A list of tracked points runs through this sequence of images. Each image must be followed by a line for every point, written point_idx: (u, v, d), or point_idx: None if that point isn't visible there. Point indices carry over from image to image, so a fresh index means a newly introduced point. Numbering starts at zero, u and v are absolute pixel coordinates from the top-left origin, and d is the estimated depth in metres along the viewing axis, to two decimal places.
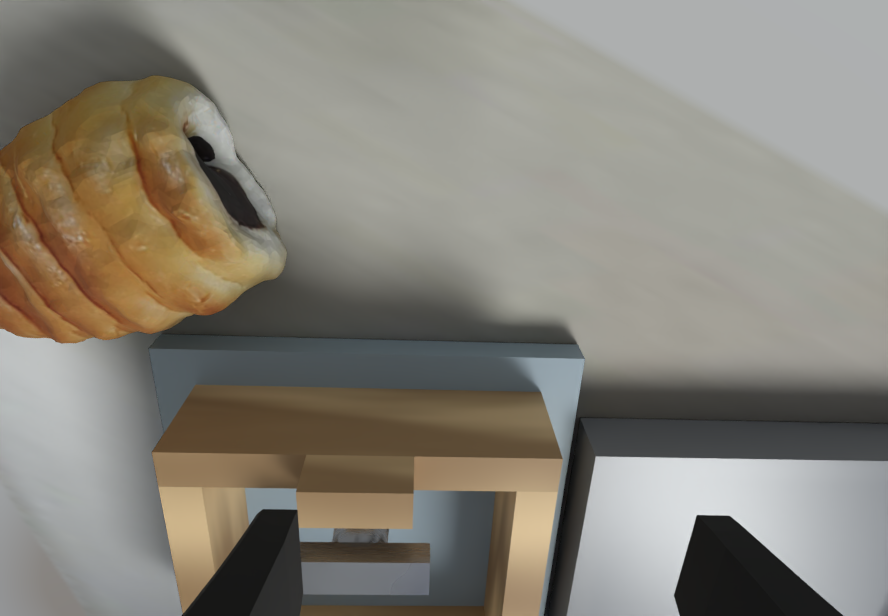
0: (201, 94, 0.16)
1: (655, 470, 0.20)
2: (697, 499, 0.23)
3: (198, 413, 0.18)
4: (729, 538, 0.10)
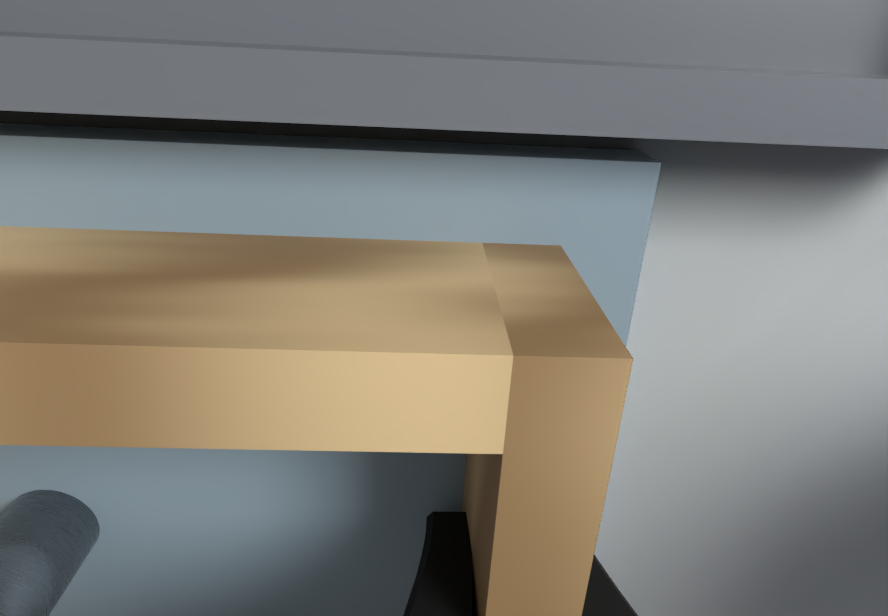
0: None
1: None
2: None
3: None
4: None
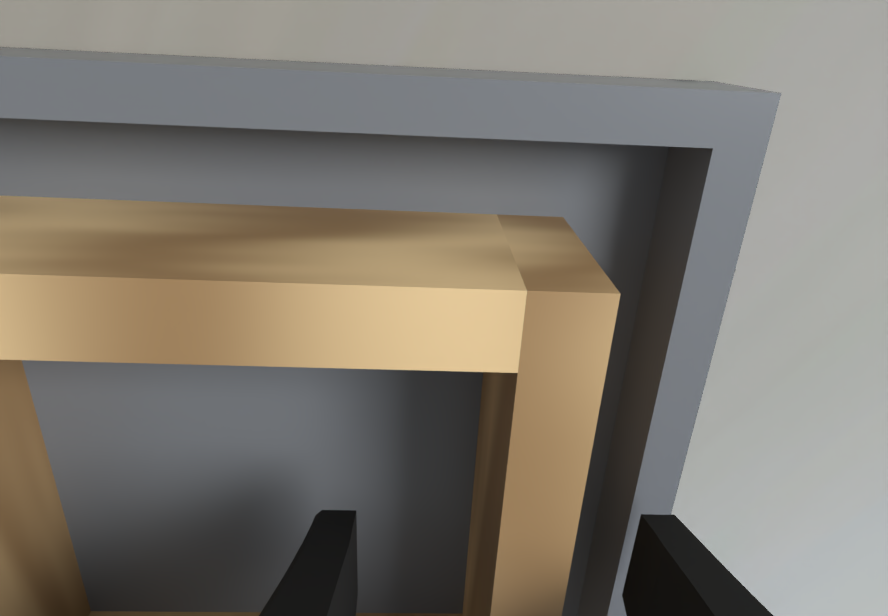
0: None
1: None
2: None
3: None
4: (669, 537, 0.10)
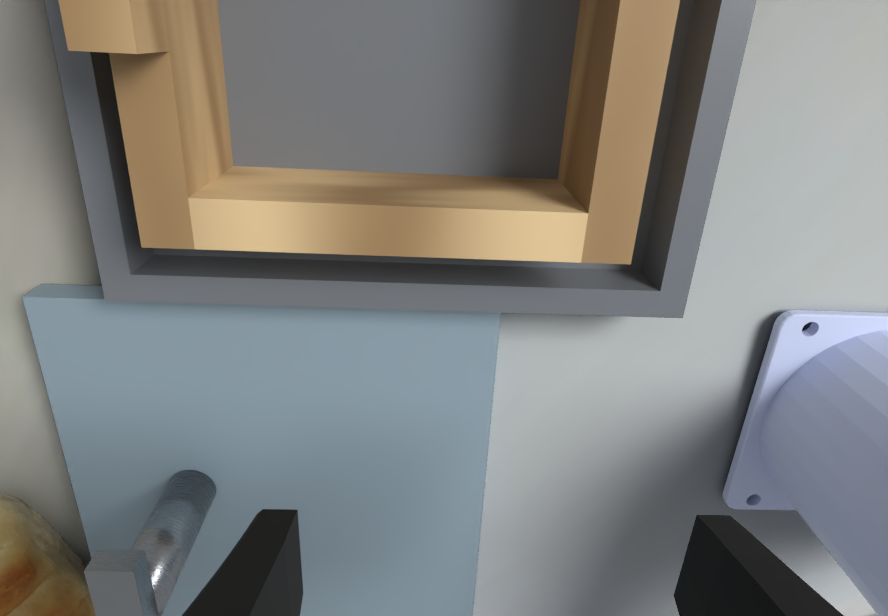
0: None
1: (111, 226, 0.16)
2: None
3: None
4: (729, 538, 0.10)
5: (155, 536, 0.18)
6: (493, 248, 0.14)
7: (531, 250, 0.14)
